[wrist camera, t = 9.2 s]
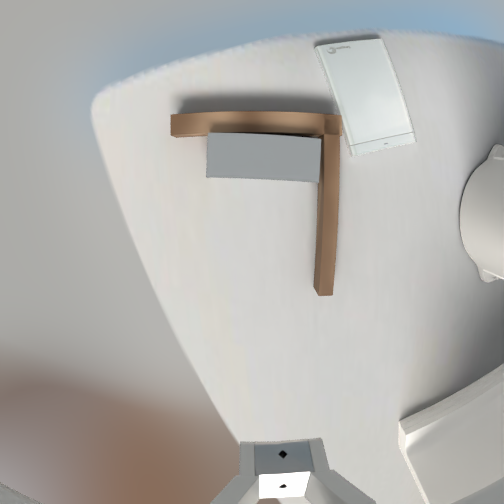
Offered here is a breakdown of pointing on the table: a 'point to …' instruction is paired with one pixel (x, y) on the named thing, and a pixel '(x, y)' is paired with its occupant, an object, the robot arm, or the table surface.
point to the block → (457, 441)
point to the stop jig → (295, 125)
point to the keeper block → (263, 157)
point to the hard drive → (366, 95)
